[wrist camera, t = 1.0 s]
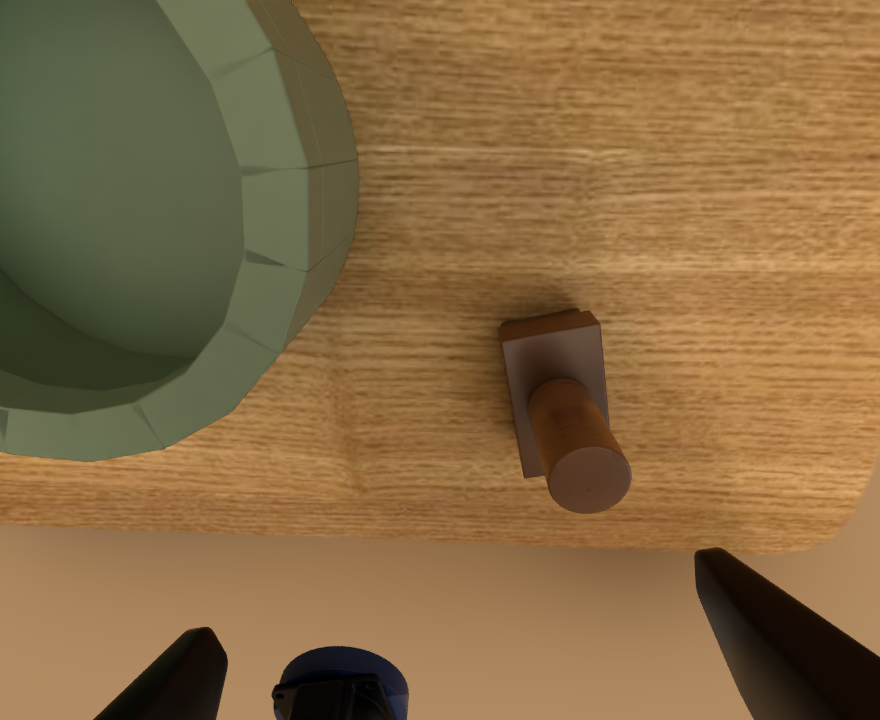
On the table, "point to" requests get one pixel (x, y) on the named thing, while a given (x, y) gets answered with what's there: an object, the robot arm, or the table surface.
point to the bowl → (159, 213)
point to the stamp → (563, 409)
